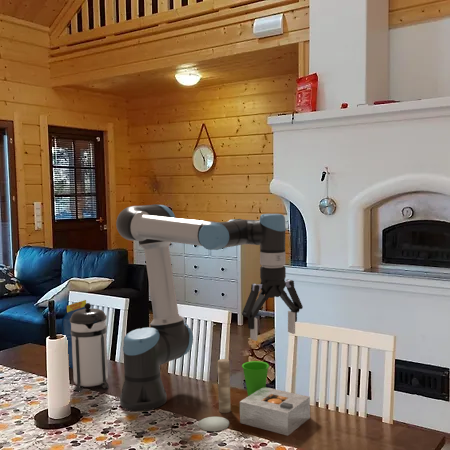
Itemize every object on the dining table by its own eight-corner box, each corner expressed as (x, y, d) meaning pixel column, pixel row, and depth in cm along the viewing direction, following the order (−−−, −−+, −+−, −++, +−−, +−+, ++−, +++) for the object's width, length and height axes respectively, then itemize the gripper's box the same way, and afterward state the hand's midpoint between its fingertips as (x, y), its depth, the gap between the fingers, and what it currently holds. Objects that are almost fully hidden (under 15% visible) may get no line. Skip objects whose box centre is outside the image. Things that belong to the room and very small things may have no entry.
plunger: (265, 410, 164) (264, 402, 164) (272, 405, 168) (272, 397, 168) (278, 413, 162) (277, 405, 162) (285, 408, 166) (285, 400, 165)
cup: (268, 403, 178) (267, 370, 177) (240, 402, 180) (239, 369, 179) (271, 393, 186) (270, 361, 186) (244, 392, 188) (244, 360, 188)
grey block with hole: (240, 422, 164) (239, 399, 163) (264, 406, 175) (263, 384, 175) (288, 435, 155) (287, 411, 154) (310, 417, 166) (309, 394, 166)
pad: (192, 426, 162) (192, 425, 162) (210, 415, 170) (210, 414, 170) (217, 434, 157) (217, 432, 157) (235, 422, 164) (234, 420, 164)
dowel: (216, 411, 173) (215, 361, 172) (223, 407, 176) (222, 358, 175) (226, 413, 171) (224, 363, 170) (232, 409, 174) (231, 360, 173)
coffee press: (123, 381, 202) (119, 300, 199) (90, 396, 188) (86, 309, 186) (89, 373, 211) (85, 296, 209) (56, 387, 197) (52, 304, 195)
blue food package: (63, 367, 219) (60, 305, 217) (82, 358, 230) (79, 299, 228) (75, 369, 217) (73, 306, 215) (94, 360, 228) (92, 300, 226)
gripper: (243, 271, 155) (244, 345, 156) (314, 264, 167) (314, 332, 169) (230, 267, 161) (230, 339, 163) (299, 260, 173) (299, 327, 175)
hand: (273, 336), depth 166 cm, fingers open, 13 cm apart
